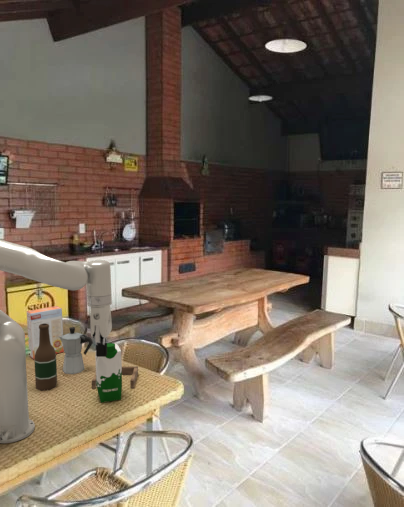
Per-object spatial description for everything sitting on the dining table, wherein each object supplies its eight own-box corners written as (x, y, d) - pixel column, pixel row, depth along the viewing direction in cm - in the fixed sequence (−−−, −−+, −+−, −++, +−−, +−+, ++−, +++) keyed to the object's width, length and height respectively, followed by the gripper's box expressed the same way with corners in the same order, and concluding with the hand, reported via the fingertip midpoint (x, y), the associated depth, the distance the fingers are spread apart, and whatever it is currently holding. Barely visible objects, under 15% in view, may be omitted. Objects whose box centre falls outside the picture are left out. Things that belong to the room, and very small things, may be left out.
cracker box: (59, 348, 198) (57, 305, 195) (64, 352, 194) (62, 307, 191) (28, 355, 189) (26, 310, 186) (32, 359, 185) (30, 313, 182)
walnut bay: (133, 388, 158) (133, 380, 158) (92, 388, 158) (91, 380, 157) (137, 373, 171) (137, 366, 171) (99, 373, 171) (99, 366, 170)
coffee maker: (53, 373, 171) (52, 329, 169) (64, 364, 180) (63, 323, 177) (88, 376, 168) (87, 332, 166) (97, 367, 177) (96, 325, 175)
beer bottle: (50, 392, 154) (47, 328, 151) (31, 390, 156) (28, 326, 153) (61, 383, 162) (59, 322, 159) (43, 381, 164) (40, 320, 160)
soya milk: (98, 404, 145) (97, 348, 143) (95, 393, 154) (93, 340, 151) (124, 400, 149) (123, 345, 146) (119, 389, 157) (118, 337, 154)
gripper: (106, 305, 126) (109, 364, 129) (115, 294, 141) (117, 347, 143) (81, 306, 126) (84, 365, 128) (92, 294, 141) (95, 347, 143)
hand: (101, 355), depth 136 cm, fingers closed
